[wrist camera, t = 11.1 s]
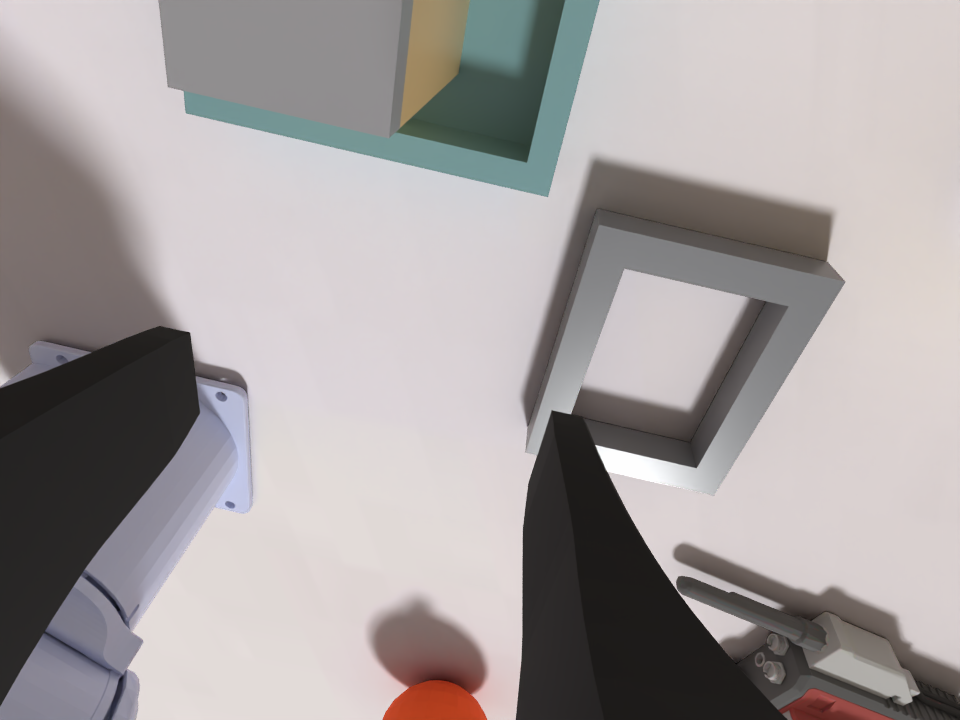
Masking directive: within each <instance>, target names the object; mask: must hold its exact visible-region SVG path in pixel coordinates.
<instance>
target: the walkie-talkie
mask: <svg viewBox="0 0 960 720" xmlns="http://www.w3.org/2000/svg"><path fill="white" fill-rule="evenodd" d="M676 585H677V589H678V591H679V592H680V593H681V594H682V595H685V596H687V597H690V598H692V599H695V600H697V601H699V602H702V603H704V604H707V605H709V606H712V607H714V608H717V609H719V610H722V611H724V612H726V613H729V614H731V615H734V616H736V617H739V618H741V619H744V620H746V621H749V622H751V623H754V624H756V625H758V626H761V627H763V628H766V629H768V630H771V631H773V632H776V633H778V634H774V633H772V634H770V635H769V636H768V638H767V644H765V645H764V646H762V647H761V648H759V649H758V650H756V651H755V652H753V653H752V654H750V655H749V656H748V657H746V658H745V659H743V660H742V661H740V662H739V663H737V664H736V665H737V666H738V667H739V668H740V669H741V671H742V672H743V673H744V674H745V675H746V676H747V677H748V678H749V679H750V680H751V681H752V682H753V684H754V685H755V686H756V687H757V688H758V689H759V690H760V691H761V692H762V693H763V694H764V695H765V697H766V698H767V699H768V700H769V701H770V702H771V703H772V704H773V705H774V706H775V707H776V708H777V709H778V710H779V711H780V712H781V713H782V714H783V715H784V716H785V717H786V718H787V719H788V720H960V704H958V702H957V701H956V699H955V697H954V695H948V693H947V692H941V691H940V690H939V689H937V688H936V689H934V688H932V687H931V686H930V685H924V684H923V682H917V681H915V679H913V677H912V675H911V673H910V671H909V670H906V669H904V668H901V666H900V664H899V662H898V660H897V658H896V655H895V653H894V651H893V649H892V647H891V645H890V643H889V641H888V640H887V639H884V638H882V637H880V636H877V635H875V634H873V633H870V632H868V631H865V630H863V629H861V628H858V627H856V626H854V625H851V624H849V623H847V622H844V621H842V620H841V619H840V618H839V617H838V616H836V615H834V614H831V613H829V612H826V611H825V612H824V613H822V614H821V615H819V616H818V617H816V618H815V619H813V620H812V621H809V620H807V619H805V618H802V617H800V616H797V617H793V616H791V615H788V614H786V613H783V612H781V611H778V610H776V609H774V608H771V607H769V606H766V605H764V604H761V603H759V602H757V601H754V600H752V599H749V598H747V597H745V596H742V595H740V594H737V593H735V592H730V593H728V592H725V591H723V590H720V589H718V588H716V587H713V586H711V585H708V584H706V583H703V582H701V581H698V580H696V579H693V578H690V577H685V576H679V577H678V578H677V581H676Z"/></svg>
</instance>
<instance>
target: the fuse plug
mask: <svg viewBox="0 0 960 720" xmlns="http://www.w3.org/2000/svg"><path fill="white" fill-rule="evenodd" d="M469 3H470V0H159V8H160V18H161V27H162V37H163V46H164V55H165V65H166V74H167V84H168V87H170V88H174V89H178V90H182V91H187V92H191V93H195V94H200V95H204V96H208V97H213V98H217V99H221V100H225V101H230V102H234V103H238V104H243V105H247V106H251V107H256V108H260V109H264V110H269V111H273V112H277V113H281V114H286V115H290V116H294V117H299V118H303V119H307V120H312V121H316V122H320V123H325V124H329V125H333V126H337V127H342V128H346V129H350V130H355V131H359V132H363V133H368V134H372V135H376V136H381V137H385V138H390V137H391V136H392V135H393V134H394V133H395V132H396V131H397V130H399V129H400V128H401V127H402V126H403V125H404V124H405V123H406V122H407V121H408V120H409V119H410V118H411V117H412V116H414V115H415V114H416V113H417V112H418V111H419V110H420V109H421V108H422V107H423V106H424V105H425V104H426V103H428V102H429V101H430V100H431V99H432V98H433V97H434V96H435V95H436V94H437V93H438V92H439V91H440V90H441V89H443V88H444V87H445V86H446V85H447V84H448V83H449V82H450V81H451V80H452V79H453V78H454V77H455V76H456V75H458V74H459V68H460V61H461V55H462V48H463V42H464V35H465V29H466V22H467V16H468V9H469Z"/></svg>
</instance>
